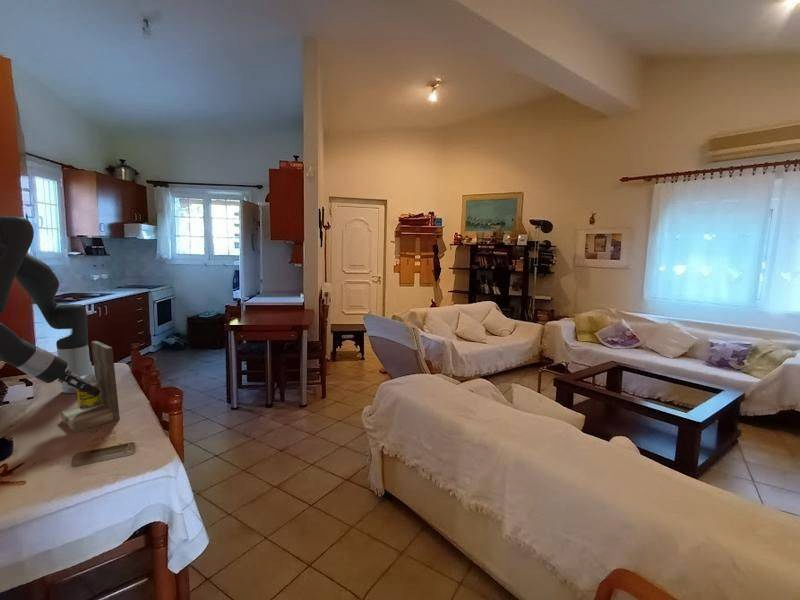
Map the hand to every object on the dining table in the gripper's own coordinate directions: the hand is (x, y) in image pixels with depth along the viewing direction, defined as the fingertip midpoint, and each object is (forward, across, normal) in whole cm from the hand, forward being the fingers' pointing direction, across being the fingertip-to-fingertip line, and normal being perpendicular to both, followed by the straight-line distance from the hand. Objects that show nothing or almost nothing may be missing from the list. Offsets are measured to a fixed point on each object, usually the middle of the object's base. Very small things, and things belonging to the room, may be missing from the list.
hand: (94, 391), depth 129 cm
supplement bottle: (+2, 0, +5) cm, 5 cm away
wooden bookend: (+5, 0, +8) cm, 9 cm away
